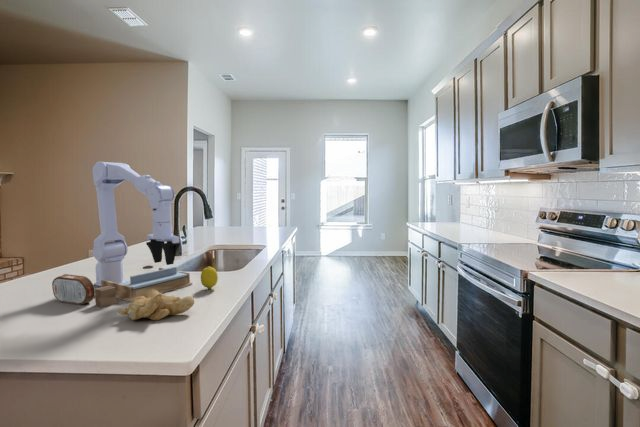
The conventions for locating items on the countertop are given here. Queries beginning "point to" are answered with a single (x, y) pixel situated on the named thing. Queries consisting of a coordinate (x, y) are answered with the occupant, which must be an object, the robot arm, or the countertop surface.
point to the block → (105, 296)
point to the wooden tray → (147, 287)
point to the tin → (73, 289)
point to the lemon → (209, 277)
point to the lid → (153, 278)
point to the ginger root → (156, 306)
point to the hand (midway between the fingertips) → (163, 263)
